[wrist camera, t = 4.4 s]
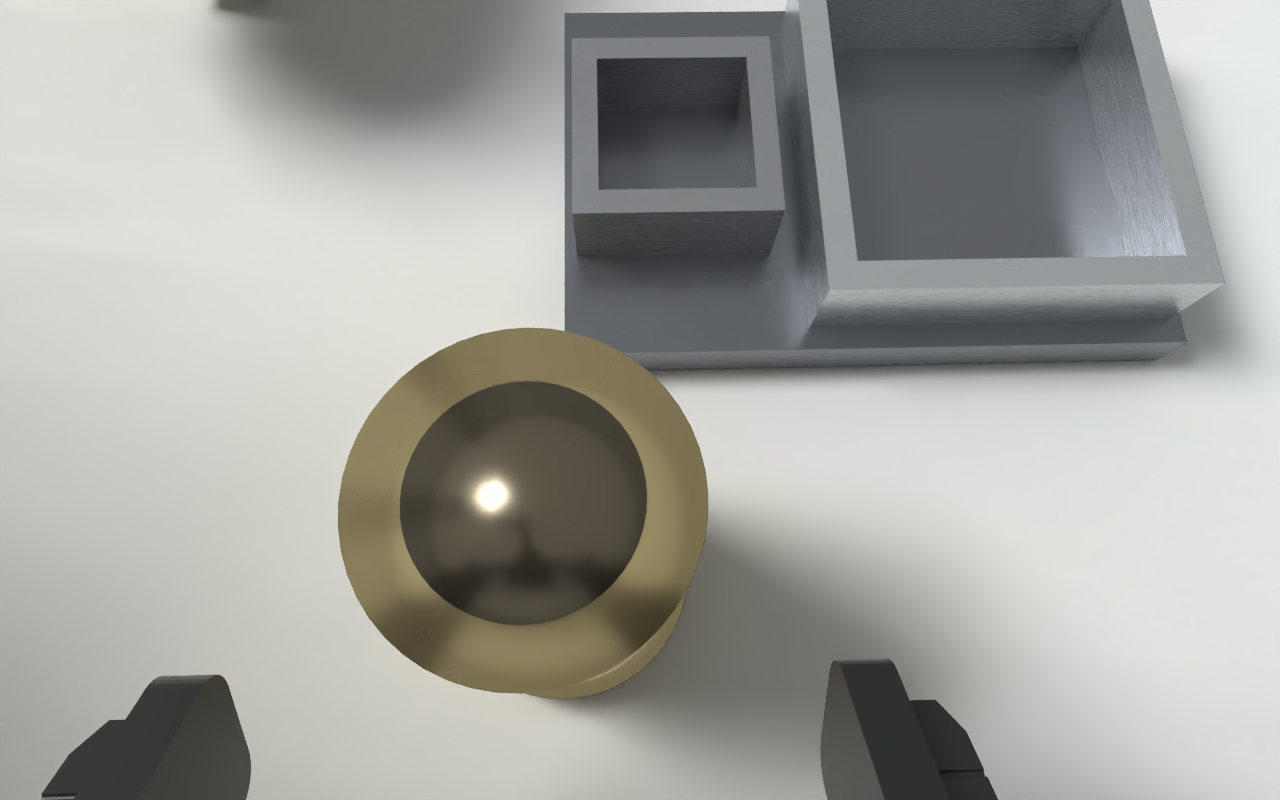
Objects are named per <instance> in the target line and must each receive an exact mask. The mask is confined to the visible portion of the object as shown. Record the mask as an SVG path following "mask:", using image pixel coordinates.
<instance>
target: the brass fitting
mask: <svg viewBox="0 0 1280 800" xmlns="http://www.w3.org/2000/svg"><path fill="white" fill-rule="evenodd" d="M707 520H708V488H707V480H706V471H705V467H704V463H703V459H702V455H701V451H700V448H699V445H698V443H697V440H696V438H695V435H694V433H693V430H692V428H691V426H690V424H689V422H688V420H687V419H686V417H685V415H684V413H683V412H682V410H681V408H680V407H679V405H678V404H677V403H676V401H675V400H674V399H673V397H672V396H671V395H670V393H669V392H668V391H667V389H666V388H665V387H664V386H663V385H662V384H661V383H660V382H659V381H658V380H657V379H656V378H655V377H654V376H653V375H652V374H651V373H650V372H649V371H647V370H646V369H645V368H644V367H642V366H641V365H640V364H638V363H637V362H636V361H635V360H633V359H632V358H630V357H628V356H627V355H625V354H623V353H622V352H620V351H618V350H617V349H615V348H613V347H611V346H609V345H606V344H604V343H602V342H600V341H597V340H595V339H592V338H589V337H586V336H582V335H579V334H575V333H572V332H566V331H560V330H554V329H544V328H518V329H506V330H500V331H495V332H490V333H485V334H481V335H478V336H475V337H472V338H469V339H466V340H462V341H460V342H457V343H455V344H453V345H451V346H449V347H447V348H445V349H442V350H440V351H438V352H437V353H435V354H434V355H432V356H430V357H429V358H427V359H426V360H424V361H422V362H421V363H419V364H418V365H417V366H415V367H414V368H413V369H412V370H410V371H409V372H408V373H407V374H405V375H404V376H403V377H402V378H401V379H400V380H399V381H398V382H397V383H396V384H395V385H394V386H393V387H392V388H391V389H390V390H389V391H388V392H387V393H386V394H385V395H384V396H383V397H382V399H381V400H380V401H379V403H378V404H377V405H376V407H375V408H374V409H373V410H372V412H371V413H370V415H369V416H368V418H367V420H366V421H365V423H364V425H363V427H362V428H361V430H360V432H359V433H358V435H357V438H356V440H355V442H354V445H353V447H352V449H351V452H350V454H349V457H348V460H347V464H346V467H345V470H344V474H343V477H342V483H341V489H340V496H339V503H338V530H339V539H340V547H341V553H342V557H343V561H344V564H345V568H346V572H347V575H348V578H349V580H350V583H351V585H352V587H353V590H354V592H355V595H356V597H357V599H358V600H359V602H360V604H361V605H362V607H363V609H364V610H365V612H366V614H367V615H368V617H369V619H370V620H371V621H372V622H373V624H374V625H375V626H376V627H377V629H378V630H379V631H380V632H381V633H382V635H383V636H384V637H385V638H386V639H387V640H388V641H389V642H390V643H391V644H392V645H393V646H394V647H396V648H397V649H398V650H399V651H400V652H401V653H402V654H403V655H405V656H406V657H408V658H409V659H410V660H412V661H413V662H415V663H416V664H418V665H419V666H421V667H422V668H423V669H425V670H427V671H429V672H432V673H434V674H436V675H438V676H440V677H442V678H444V679H446V680H448V681H451V682H454V683H457V684H460V685H463V686H466V687H469V688H474V689H480V690H485V691H491V692H499V693H526V694H529V695H533V696H538V697H544V698H554V699H570V698H580V697H585V696H589V695H593V694H598V693H601V692H603V691H606V690H608V689H611V688H613V687H615V686H617V685H619V684H621V683H623V682H624V681H626V680H628V679H630V678H631V677H632V676H634V675H635V674H636V673H638V672H639V671H640V670H642V669H643V668H644V667H645V666H646V665H647V664H648V663H649V662H650V661H651V660H652V659H653V658H654V657H655V656H656V655H657V654H658V652H659V651H660V650H661V649H662V647H663V646H664V645H665V643H666V642H667V640H668V638H669V637H670V635H671V633H672V632H673V630H674V628H675V626H676V623H677V621H678V619H679V617H680V614H681V611H682V607H683V604H684V600H685V596H686V590H687V588H688V586H689V584H690V582H691V579H692V577H693V575H694V573H695V570H696V568H697V566H698V562H699V559H700V555H701V552H702V548H703V545H704V541H705V534H706V527H707Z"/></svg>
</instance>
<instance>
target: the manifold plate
mask: <svg viewBox="0 0 1280 800" xmlns="http://www.w3.org/2000/svg"><path fill="white" fill-rule="evenodd" d="M1224 283H1225V282H1224V278H1223V274H1222V271H1221V267H1220V263H1219V259H1218V256H1217V252H1216V248H1215V244H1214V241H1213V237H1212V233H1211V230H1210V226H1209V222H1208V218H1207V215H1206V211H1205V207H1204V204H1203V200H1202V196H1201V192H1200V189H1199V185H1198V181H1197V177H1196V174H1195V170H1194V166H1193V163H1192V159H1191V155H1190V151H1189V148H1188V144H1187V140H1186V137H1185V133H1184V129H1183V125H1182V122H1181V118H1180V114H1179V110H1178V107H1177V103H1176V99H1175V96H1174V92H1173V88H1172V84H1171V81H1170V77H1169V73H1168V70H1167V66H1166V62H1165V58H1164V55H1163V51H1162V47H1161V43H1160V40H1159V36H1158V32H1157V29H1156V25H1155V21H1154V17H1153V14H1152V10H1151V6H1150V3H1149V0H788V2H787V6H786V10H785V11H774V12H668V13H565V331H566V332H572V333H575V334H579V335H582V336H586V337H589V338H592V339H595V340H597V341H600V342H602V343H604V344H606V345H609V346H611V347H613V348H615V349H617V350H618V351H620V352H622V353H623V354H625V355H627V356H628V357H630V358H632V359H633V360H635V361H636V362H637V363H638V364H640V365H641V366H642V367H644V368H645V369H646V370H673V369H722V368H771V367H820V366H869V365H918V364H967V363H1016V362H1065V361H1114V360H1157V359H1158V358H1160V357H1162V356H1164V355H1165V354H1167V353H1169V352H1170V351H1172V350H1174V349H1175V348H1177V347H1179V346H1181V345H1182V344H1184V343H1186V338H1185V334H1184V330H1183V326H1182V322H1181V318H1180V314H1179V312H1181V311H1183V310H1184V309H1186V308H1187V307H1189V306H1190V305H1192V304H1193V303H1195V302H1197V301H1198V300H1200V299H1201V298H1203V297H1204V296H1206V295H1207V294H1209V293H1210V292H1212V291H1214V290H1215V289H1217V288H1218V287H1220V286H1221V285H1223V284H1224Z"/></svg>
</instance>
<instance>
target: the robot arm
mask: <svg viewBox="0 0 1280 800" xmlns="http://www.w3.org/2000/svg"><path fill="white" fill-rule="evenodd" d="M821 766H822V774H823V781H824V786H825V790H826V795H827V798H828V800H998V799H997V796H996V794H995V792H994V790H993V788H992V786H991V784H990V781H989V779H988V777H985V775H984V769H983V766H982V764H981V762H980V760H979V758H978V756H977V754H976V751H975V749H974V747H973V745H972V743H971V741H970V739H969V736H968V734H967V732H966V731H965V730H964V729H963V728H962V727H961V726H960V725H959V724H958V723H957V722H956V721H955V720H954V719H953V717H952V716H951V715H950V714H949V713H948V712H947V711H946V710H945V709H944V708H943V707H942V706H941V705H940V704H939V703H938V702H937V701H936V700H911V701H909V698H908V696H907V693H906V691H905V688H904V686H903V683H902V681H901V678H900V676H899V674H898V671H897V669H896V667H895V665H894V664H893V662H892V661H891V660H889V659H882V660H844V661H833V663H832V665H831V668H830V674H829V682H828V689H827V697H826V705H825V712H824V720H823V728H822V736H821ZM250 776H251V760H250V754H249V750H248V747H247V744H246V741H245V737H244V734H243V731H242V728H241V725H240V722H239V718H238V715H237V712H236V709H235V706H234V702H233V699H232V696H231V693H230V690H229V686H228V684H227V682H226V680H225V679H224V678H223V677H222V676H220V675H193V676H161V677H158V678H156V679H154V680H153V681H152V682H151V683H150V684H149V685H148V687H147V688H146V689H145V691H144V692H143V694H142V695H141V697H140V699H139V700H138V702H137V703H136V705H135V706H134V708H133V709H132V711H131V712H130V714H129V715H128V717H127V718H126V720H109V721H108V722H107V723H106V724H104V725H103V726H102V727H101V728H100V729H99V730H97V731H96V732H95V733H94V734H93V735H92V736H90V737H89V738H88V739H87V740H86V741H84V742H83V743H82V744H81V745H80V746H79V747H77V748H76V749H75V750H74V751H73V752H72V753H70V754H69V756H68V757H67V758H66V760H65V761H64V763H63V764H62V766H61V767H60V768H59V770H58V771H57V773H56V774H55V776H54V777H53V779H52V780H51V781H50V783H49V784H48V786H47V787H46V789H45V790H44V791H43V793H42V799H41V800H246V797H247V793H248V789H249V784H250Z"/></svg>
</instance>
